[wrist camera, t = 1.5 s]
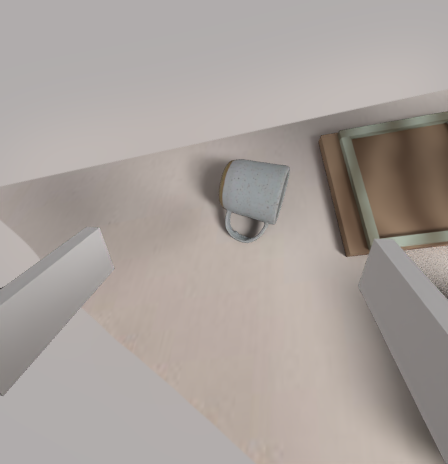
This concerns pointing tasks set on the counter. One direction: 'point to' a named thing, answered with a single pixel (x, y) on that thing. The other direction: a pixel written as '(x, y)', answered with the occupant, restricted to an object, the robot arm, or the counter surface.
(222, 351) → the counter surface
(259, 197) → the ceramic mug
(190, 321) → the counter surface
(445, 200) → the board
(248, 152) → the counter surface
